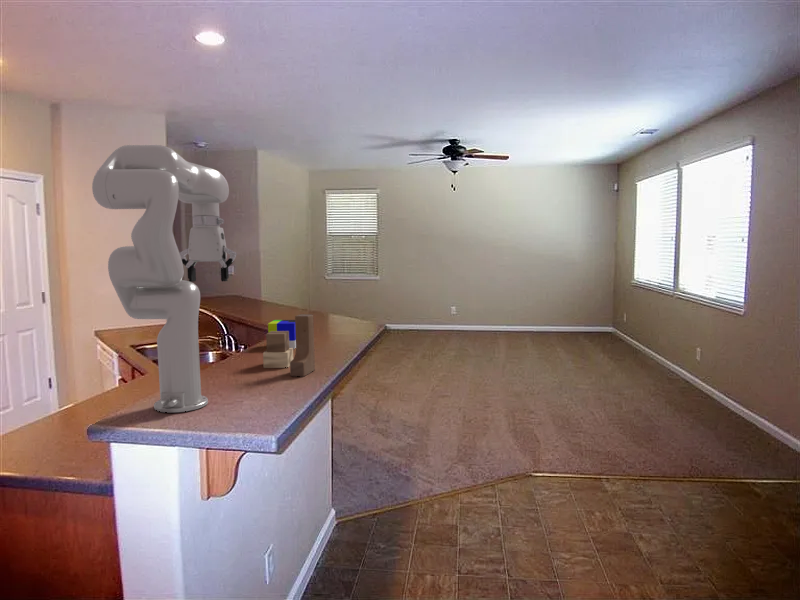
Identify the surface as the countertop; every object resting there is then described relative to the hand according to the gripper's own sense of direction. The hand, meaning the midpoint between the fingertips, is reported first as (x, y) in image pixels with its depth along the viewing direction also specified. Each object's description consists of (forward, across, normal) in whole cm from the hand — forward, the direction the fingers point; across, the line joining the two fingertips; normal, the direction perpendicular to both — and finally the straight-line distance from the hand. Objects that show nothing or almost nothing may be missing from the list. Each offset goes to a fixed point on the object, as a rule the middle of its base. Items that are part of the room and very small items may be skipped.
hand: (208, 281), depth 163 cm
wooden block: (+30, -26, -8) cm, 40 cm away
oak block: (+29, -15, -20) cm, 38 cm away
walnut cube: (+24, -15, -19) cm, 34 cm away
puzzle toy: (+28, -8, -52) cm, 60 cm away
